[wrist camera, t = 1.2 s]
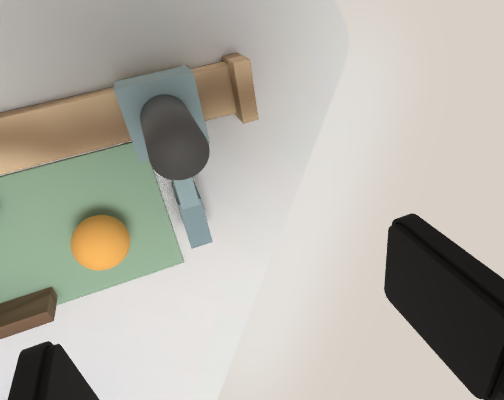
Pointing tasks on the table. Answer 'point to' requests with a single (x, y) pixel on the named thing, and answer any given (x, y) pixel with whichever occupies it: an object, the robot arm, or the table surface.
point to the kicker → (170, 136)
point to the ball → (100, 242)
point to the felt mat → (72, 214)
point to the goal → (27, 312)
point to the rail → (112, 116)
